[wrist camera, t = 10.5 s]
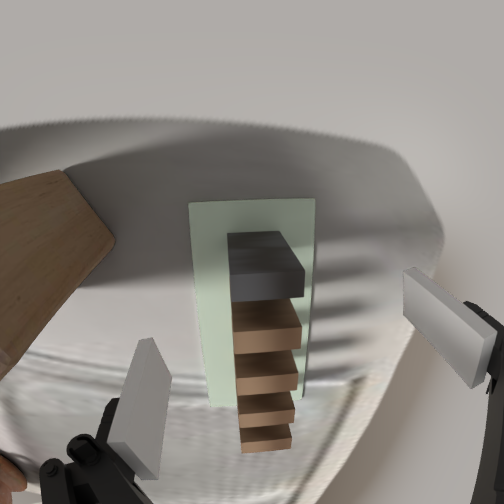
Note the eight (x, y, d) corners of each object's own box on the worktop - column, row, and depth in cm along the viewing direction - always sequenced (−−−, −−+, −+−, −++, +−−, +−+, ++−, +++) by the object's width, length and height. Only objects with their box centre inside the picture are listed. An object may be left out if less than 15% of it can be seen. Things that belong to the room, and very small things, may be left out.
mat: (210, 404, 38) (210, 407, 37) (188, 202, 29) (188, 203, 29) (300, 397, 39) (301, 399, 38) (314, 198, 30) (315, 198, 30)
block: (65, 292, 31) (-30, 416, 12) (12, 226, 28) (-114, 305, 9) (121, 239, 30) (16, 366, 11) (63, 164, 26) (-92, 208, 8)
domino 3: (234, 362, 35) (239, 428, 26) (233, 349, 35) (238, 414, 25) (277, 359, 36) (293, 422, 26) (277, 346, 35) (295, 409, 26)
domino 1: (230, 294, 32) (234, 354, 23) (229, 276, 32) (233, 332, 22) (278, 291, 33) (300, 348, 23) (279, 273, 32) (302, 326, 23)
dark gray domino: (227, 253, 31) (231, 302, 21) (226, 233, 30) (230, 274, 21) (279, 250, 31) (303, 297, 22) (279, 230, 30) (305, 270, 21)
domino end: (235, 389, 37) (241, 453, 27) (235, 378, 36) (240, 442, 27) (276, 386, 37) (290, 448, 28) (276, 375, 36) (291, 437, 27)
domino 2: (232, 331, 34) (237, 395, 24) (231, 315, 33) (236, 378, 24) (277, 328, 34) (296, 390, 25) (278, 312, 33) (298, 372, 24)
